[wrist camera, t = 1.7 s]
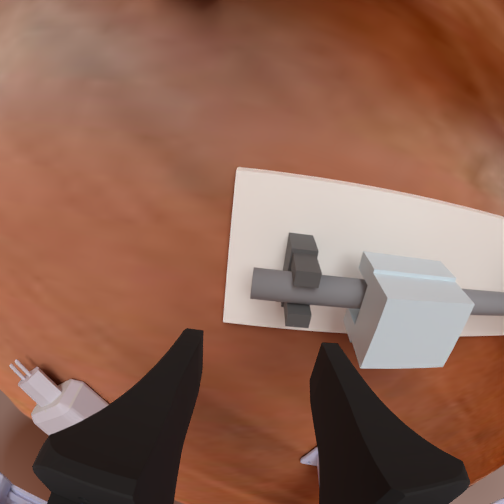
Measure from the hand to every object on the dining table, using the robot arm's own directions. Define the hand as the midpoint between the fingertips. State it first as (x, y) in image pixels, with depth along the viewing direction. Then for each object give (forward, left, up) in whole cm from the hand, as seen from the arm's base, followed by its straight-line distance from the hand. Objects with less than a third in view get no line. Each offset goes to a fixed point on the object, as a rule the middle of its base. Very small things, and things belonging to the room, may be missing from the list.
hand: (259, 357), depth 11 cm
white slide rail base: (-12, -4, -9) cm, 16 cm away
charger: (+10, +25, -10) cm, 28 cm away
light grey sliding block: (-7, -3, -6) cm, 10 cm away
